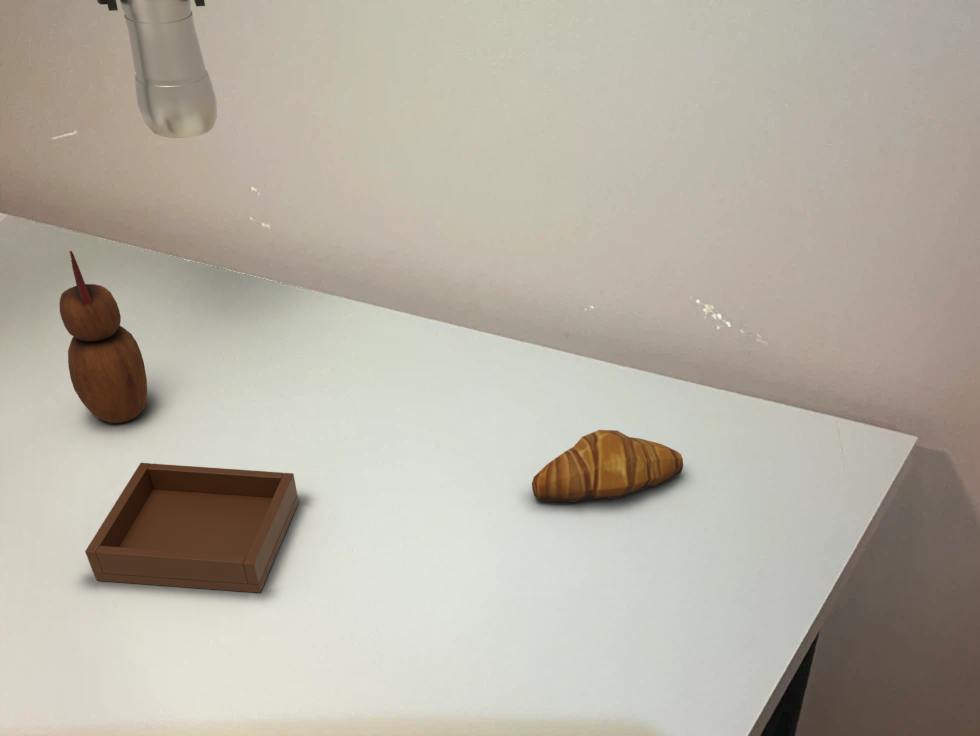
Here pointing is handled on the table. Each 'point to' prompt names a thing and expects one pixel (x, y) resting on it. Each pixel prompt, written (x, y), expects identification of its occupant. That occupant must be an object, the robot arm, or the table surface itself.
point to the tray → (195, 528)
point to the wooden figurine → (102, 353)
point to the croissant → (606, 468)
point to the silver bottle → (169, 68)
